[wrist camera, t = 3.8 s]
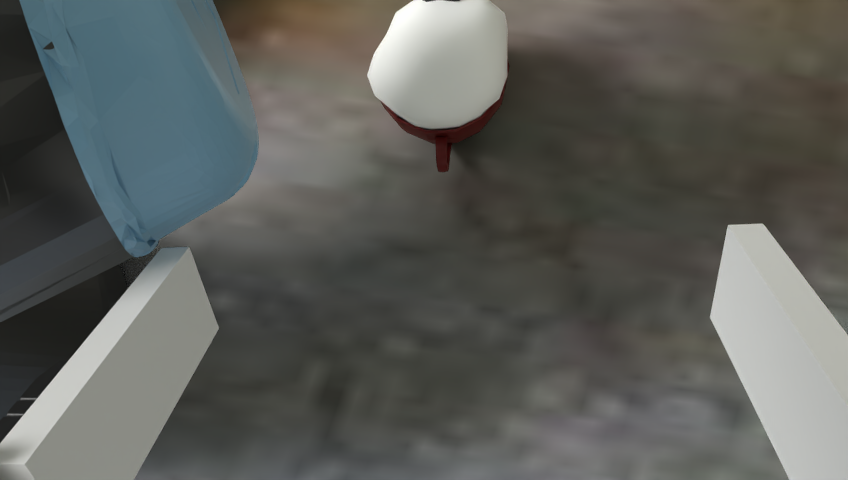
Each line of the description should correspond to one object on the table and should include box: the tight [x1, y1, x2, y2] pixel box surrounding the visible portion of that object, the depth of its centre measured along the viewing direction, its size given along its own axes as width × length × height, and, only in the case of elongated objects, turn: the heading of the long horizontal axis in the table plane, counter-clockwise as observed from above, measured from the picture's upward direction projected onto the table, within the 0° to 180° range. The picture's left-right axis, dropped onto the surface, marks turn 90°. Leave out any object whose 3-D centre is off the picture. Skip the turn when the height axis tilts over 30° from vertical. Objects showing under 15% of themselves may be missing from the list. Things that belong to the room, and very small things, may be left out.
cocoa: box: [367, 0, 509, 172], centre depth 25 cm, size 10×6×12 cm, turn 156°
